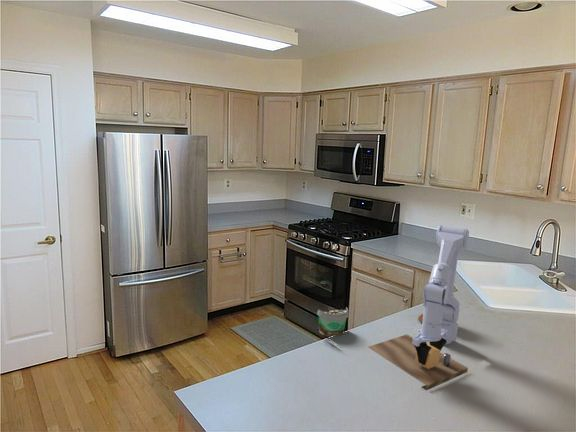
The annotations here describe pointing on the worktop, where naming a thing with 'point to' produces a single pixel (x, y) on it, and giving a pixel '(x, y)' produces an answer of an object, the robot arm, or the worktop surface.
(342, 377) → the worktop surface
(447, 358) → the dark post
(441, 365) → the walnut board
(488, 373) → the worktop surface
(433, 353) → the peach wooden cube
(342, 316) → the food container
